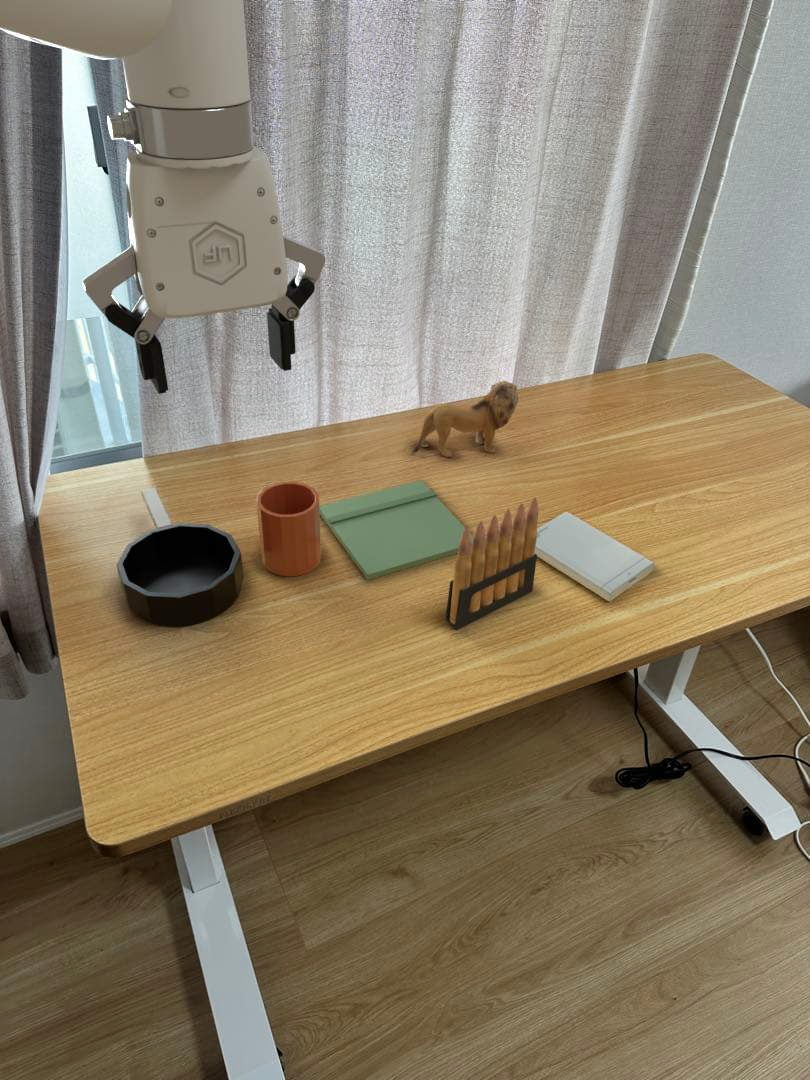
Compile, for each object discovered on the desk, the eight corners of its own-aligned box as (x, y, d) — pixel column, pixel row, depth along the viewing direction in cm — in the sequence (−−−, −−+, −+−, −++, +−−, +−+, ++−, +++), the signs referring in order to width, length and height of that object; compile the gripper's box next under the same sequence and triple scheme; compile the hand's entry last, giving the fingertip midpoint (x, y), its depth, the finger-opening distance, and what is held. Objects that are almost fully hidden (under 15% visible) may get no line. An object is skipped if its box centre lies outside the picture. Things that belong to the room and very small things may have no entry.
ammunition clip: (456, 630, 81) (465, 536, 74) (444, 620, 82) (452, 526, 75) (532, 591, 87) (548, 499, 79) (520, 581, 88) (535, 490, 80)
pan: (139, 641, 79) (132, 610, 76) (100, 529, 93) (93, 500, 90) (257, 606, 83) (254, 576, 81) (203, 504, 97) (199, 476, 95)
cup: (274, 583, 86) (269, 522, 81) (254, 548, 91) (248, 489, 86) (330, 566, 89) (328, 507, 84) (308, 534, 93) (305, 476, 88)
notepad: (367, 580, 87) (367, 572, 86) (318, 511, 97) (317, 504, 96) (478, 547, 92) (478, 539, 92) (421, 485, 102) (421, 478, 101)
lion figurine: (502, 431, 114) (510, 372, 108) (519, 449, 110) (528, 390, 104) (405, 446, 109) (407, 386, 104) (419, 466, 106) (422, 405, 100)
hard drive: (521, 536, 92) (610, 591, 84) (567, 510, 96) (656, 560, 89) (520, 547, 93) (608, 603, 85) (565, 521, 97) (652, 571, 90)
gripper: (62, 153, 46) (117, 418, 56) (340, 134, 53) (343, 375, 63) (43, 127, 51) (96, 374, 62) (298, 113, 58) (308, 338, 68)
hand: (221, 374), depth 62 cm, fingers open, 9 cm apart
